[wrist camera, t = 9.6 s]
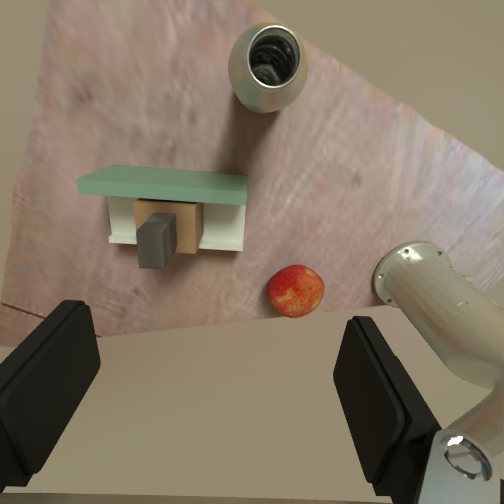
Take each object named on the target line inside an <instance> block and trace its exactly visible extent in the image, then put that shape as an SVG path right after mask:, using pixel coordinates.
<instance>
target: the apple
mask: <svg viewBox="0 0 504 504" xmlns="http://www.w3.org/2000/svg"><path fill="white" fill-rule="evenodd" d="M323 294H324V283H323V281H322V279H321V278H320V277H319V275H318V274H316V273H315V272H314V271H312V270H311V269H309V268H307V267H305V266H303V265H292V266H288V267H286V268H284V269H282V270H280V271H279V272H278V273H276V274H275V275H274V276H273V278H272V279H271V280H270V282H269V284H268V287H267V295H268V297H269V299H270V301H271V302H272V304H273V305H274V306H275V308H276V309H277V310H278V311H279V312H280V313H281V314H282V315H284V316H286V317H289V318H299V317H302V316H305V315H307V314H309V313H310V312H312V311H313V310H314V309H315V308H316V307H317V306H318V305H319V303H320V302H321V300H322V297H323Z"/></svg>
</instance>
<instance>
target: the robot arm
mask: <svg viewBox="0 0 504 504" xmlns="http://www.w3.org/2000/svg"><path fill="white" fill-rule="evenodd" d="M373 282H374V288H375V291H376V293H377V294H378V296H379V297H380V298H381V300H382V301H383V302H385V303H386V304H388V305H390V306H392V307H396V308H400V309H401V310H402V311H403V313H404V314H405V315H406V317H407V318H408V319H409V320H410V322H411V323H412V324H413V325H414V327H415V328H416V329H417V330H418V332H419V333H420V334H421V336H422V337H423V338H424V339H425V340H426V342H427V343H428V344H429V346H430V347H431V348H432V350H433V351H434V352H435V353H436V355H437V356H438V357H439V358H440V360H441V361H442V362H443V364H444V365H445V366H446V367H447V368H448V369H449V370H450V371H451V372H452V373H453V374H455V375H456V376H458V377H459V378H461V379H463V380H465V381H467V382H469V383H472V384H475V385H478V386H481V387H484V388H488V389H492V390H493V391H492V392H491V393H490V394H489V395H488V396H487V397H485V398H484V399H483V400H482V401H481V402H480V403H479V404H477V405H476V406H474V407H473V408H472V409H470V410H469V411H468V412H466V413H465V414H464V415H462V416H461V417H459V418H458V419H457V420H455V421H454V422H452V423H451V424H450V425H449V426H448V427H446V428H445V429H442V428H441V426H440V425H439V423H438V422H437V420H436V418H435V417H434V415H433V414H432V412H431V410H430V409H429V407H428V405H427V404H426V402H425V401H424V399H423V397H422V396H421V394H420V392H419V391H418V389H417V388H416V386H415V384H414V383H413V381H412V380H411V378H410V376H409V375H408V373H407V371H406V370H405V368H404V367H403V365H402V364H401V362H400V360H399V359H398V358H397V356H395V355H394V354H393V352H392V350H391V349H390V347H389V345H388V344H387V342H386V340H385V339H384V337H383V336H382V334H381V332H380V331H379V329H378V327H377V326H376V324H375V322H374V321H373V319H372V318H371V317H366V316H354V317H353V318H352V320H348V322H347V325H346V328H345V332H344V336H343V339H342V343H341V346H340V350H339V354H338V358H337V361H336V364H335V368H334V372H333V379H334V383H335V386H336V389H337V393H338V395H339V399H340V402H341V405H342V408H343V411H344V414H345V417H346V420H347V423H348V427H349V430H350V433H351V436H352V439H353V441H354V445H355V448H356V451H357V454H358V457H359V460H360V464H361V467H362V469H363V473H364V476H365V478H366V480H367V482H368V483H372V485H373V488H374V491H375V494H376V496H390V497H391V499H392V502H393V504H504V309H503V308H502V307H501V306H499V305H498V304H497V303H495V302H494V301H493V300H491V299H490V298H489V297H487V296H486V295H485V294H483V293H482V292H481V291H480V290H478V289H477V288H476V287H474V286H473V285H472V284H471V283H472V282H473V278H472V276H468V275H460V274H458V273H457V272H456V271H454V270H453V269H452V264H451V260H450V258H449V256H448V254H447V253H446V252H445V251H444V250H443V249H441V248H440V247H438V246H436V245H434V244H432V243H428V242H411V243H408V244H404V245H402V246H400V247H397V248H396V249H394V250H393V251H391V252H390V253H389V254H387V255H386V256H385V257H384V258H383V259H382V261H381V262H380V263H379V265H378V267H377V268H376V271H375V274H374V280H373ZM100 363H101V361H100V355H99V350H98V345H97V340H96V335H95V330H94V325H93V320H92V316H91V311H90V307H89V306H88V305H85V302H84V301H79V300H64V301H62V302H61V303H60V304H59V305H58V306H57V307H56V308H55V309H54V310H53V311H52V312H51V313H50V314H49V315H48V316H47V317H46V318H45V319H44V320H43V321H42V322H41V323H40V324H39V325H38V326H37V327H36V328H35V329H34V330H33V331H32V332H31V333H30V335H29V336H28V337H27V338H26V339H25V340H24V341H23V342H22V343H21V344H20V345H19V346H18V347H17V348H16V349H15V350H14V351H13V352H12V353H11V354H10V355H9V356H8V357H7V358H6V359H5V360H4V361H3V362H2V363H1V364H0V504H390V503H375V502H374V503H373V502H355V501H335V500H307V499H305V500H304V499H274V498H242V497H241V498H240V497H204V496H201V497H200V496H163V495H119V494H117V495H115V494H66V493H2V492H3V490H4V489H5V487H6V486H18V487H26V486H27V484H28V482H29V480H30V479H31V477H32V475H33V474H36V473H38V472H39V471H40V470H41V469H42V467H43V465H44V464H45V462H46V460H47V459H48V457H49V455H50V454H51V452H52V450H53V448H54V447H55V445H56V443H57V442H58V440H59V438H60V436H61V435H62V433H63V431H64V429H65V428H66V426H67V424H68V423H69V421H70V419H71V417H72V416H73V414H74V412H75V411H76V409H77V407H78V405H79V404H80V402H81V400H82V398H83V397H84V395H85V393H86V392H87V389H88V388H89V386H90V385H91V383H92V381H93V380H94V378H95V376H96V374H97V373H98V370H99V368H100Z"/></svg>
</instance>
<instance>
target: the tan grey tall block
mask: <svg viewBox="0 0 504 504" xmlns="http://www.w3.org/2000/svg"><path fill="white" fill-rule="evenodd" d="M133 206H134V215H135V225H136V240H137V250H138V259H139V268H150V269H165V267H166V265H167V263H168V261H169V259H170V258H171V256H172V254H173V253H190V254H196V252H197V249H198V247H199V244H200V241H201V239H202V236H203V233H204V202H190V201H176V200H162V199H148V198H138V199H137V200H136V201H135V202H133Z"/></svg>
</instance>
